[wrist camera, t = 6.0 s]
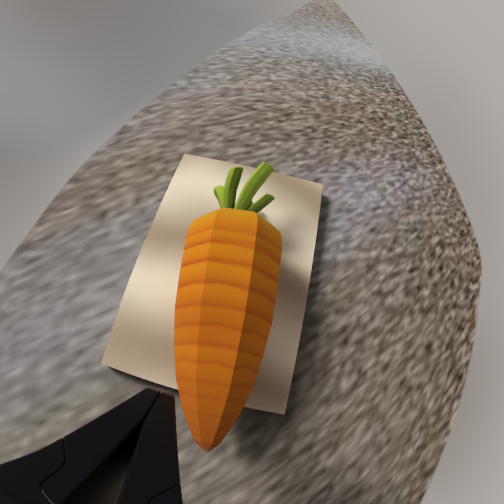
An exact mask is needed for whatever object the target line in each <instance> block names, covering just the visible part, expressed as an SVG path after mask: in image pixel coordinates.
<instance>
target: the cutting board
mask: <svg viewBox="0 0 504 504" xmlns="http://www.w3.org/2000/svg"><path fill="white" fill-rule="evenodd" d="M235 166H239V167H242V168H244V169H243V172H242V176H241V179H240V182H239V185H238V189H237V193H236V200H235V204H236V202H237V200H238V197H239V195H240V193H241V191H242V189H243V187H244V185H245V184H246V182H247V181H248V179H249V178H250V177H251V175H252V174H253V172H254V171H255V170H256V169H257V168H253V167H248V166H244V165H239V164H234V163H230V162H225V161H220V160H215V159H209V158H204V157H199V156H193V155H188V154H184V156H183V158H182V160H181V162H180V164H179V166H178V168H177V170H176V172H175V174H174V176H173V179H172V181H171V183H170V185H169V187H168V189H167V191H166V194H165V196H164V198H163V200H162V202H161V205H160V207H159V209H158V211H157V214H156V216H155V218H154V220H153V223H152V225H151V227H150V230H149V232H148V234H147V237H146V239H145V242H144V244H143V246H142V249H141V251H140V254H139V256H138V259H137V261H136V264H135V267H134V269H133V272H132V274H131V277H130V280H129V282H128V285H127V288H126V290H125V293H124V296H123V298H122V301H121V304H120V307H119V310H118V313H117V315H116V318H115V321H114V324H113V327H112V330H111V333H110V336H109V339H108V342H107V346H106V349H105V352H104V355H103V358H102V362H101V363H102V364H104V365H107V366H109V367H112V368H115V369H117V370H120V371H123V372H125V373H128V374H131V375H134V376H137V377H140V378H142V379H145V380H148V381H151V382H154V383H158V384H161V385H164V386H167V387H170V388H174V389H177V390H178V386H177V381H176V373H175V352H174V315H175V303H176V295H177V288H178V281H179V274H180V268H181V262H182V257H183V252H184V247H185V241H186V236H187V232H188V229H189V227H190V225H191V223H192V222H193V220H195V219H197V218H199V217H201V216H203V215H206V214H208V213H210V212H213V211H215V210H217V209H220V205H219V202H218V200H217V198H216V197H215V195H214V187H216V186H220V185H222V186H223V187H224V185H225V181H226V177H227V174H228V171H229V169H230V168H232V167H235ZM322 187H323V184H319V183H315V182H311V181H308V180H304V179H300V178H296V177H292V176H287V175H283V174H279V173H275V172H272V173H271V174H270V176H269V177H268V178H267V180H266V181H265V182H264V183H263V185H262V186H261V187H260V188H259V190H258V191H257V192H256V194H255V196H254V197H253V199H252V201H253V203H255V202H256V201H257V200H259V199H260V198H261V197H262V196H264V195H265V194H270V195H273V197H274V198H275V199H274V200H273V201H272V202H271V203H269V204H268V205H267V206H266V207H265V208H263V209H262V210H261V211H260V212H258V213H257V214H258V215H260V216H261V217H262V218H264V219H265V220H266V221H268V222H269V223H270V224H272V225H273V226H274V227H275V228H276V229H277V230H278V231H280V233H281V237H282V252H281V262H280V271H279V280H278V287H277V294H276V301H275V307H274V314H273V321H272V325H271V329H270V333H269V337H268V340H267V344H266V348H265V351H264V355H263V358H262V361H261V364H260V368H259V371H258V374H257V377H256V380H255V383H254V386H253V389H252V391H251V393H250V395H249V397H248V399H247V401H246V403H245V405H244V407H248V408H252V409H257V410H262V411H267V412H273V413H278V414H285V410H286V405H287V400H288V396H289V391H290V386H291V382H292V377H293V372H294V367H295V362H296V356H297V351H298V346H299V341H300V335H301V330H302V324H303V318H304V313H305V307H306V301H307V295H308V289H309V282H310V276H311V270H312V263H313V256H314V249H315V242H316V235H317V228H318V220H319V212H320V204H321V196H322Z"/></svg>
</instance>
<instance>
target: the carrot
mask: <svg viewBox="0 0 504 504" xmlns="http://www.w3.org/2000/svg"><path fill="white" fill-rule="evenodd" d="M243 169H244V168H242V167H239V166H235V167H232V168H230V169H229V171H228V174H227V177H226V181H225V185H224V187H223V186H222V185H220V186H216V187H214V195H215V197H216V198H217V200H218V202H219V205H220V209H217V210H215V211H213V212H210V213H208V214H206V215H203V216H201V217H199V218H197V219H195V220H193V222H192V223H191V225H190V227H189V229H188V232H187V236H186V241H185V247H184V252H183V257H182V262H181V268H180V274H179V281H178V288H177V295H176V303H175V315H174V352H175V373H176V381H177V386H178V391H179V396H180V400H181V405H182V409H183V412H184V415H185V418H186V420H187V423H188V426H189V428H190V431H191V434H192V436H193V439H194V441H195V442H196V443H197V444H198V446H199V447H200V448H201V449H202V450H203V451H206V452H209V451H210V450H212V449H213V448H215V447H216V446H218V445H219V444H220V443H221V441H222V440H223V439H224V437H225V436H226V434H227V433H228V431H229V430H230V429H231V427H232V426H233V424H234V423H235V421H236V420H237V418H238V417H239V415H240V413H241V411H242V409H243V407H244V405H245V403H246V401H247V399H248V397H249V395H250V393H251V391H252V389H253V386H254V383H255V380H256V377H257V374H258V371H259V368H260V364H261V361H262V358H263V355H264V351H265V348H266V344H267V340H268V337H269V333H270V329H271V325H272V321H273V314H274V307H275V301H276V294H277V287H278V280H279V271H280V262H281V252H282V237H281V233H280V231H278V230H277V229H276V228H275V227H274V226H273V225H272V224H270V223H269V222H268V221H266V220H265V219H264V218H262V217H261V216H260V215H258V214H257V213H258V212H260V211H261V210H262V209H263V208H265V207H266V206H267V205H268V204H269V203H271V202H272V201H273V200H274V199H275V198H274V197H273V195H270V194H265V195H264V196H262V197H261V198H260V199H259V200H257V201H256V202H255V203H253V201H252V199H253V197H254V196H255V194H256V192H257V191H258V190H259V188H260V187H261V186H262V185H263V183H264V182H265V181H266V180H267V178H268V177H269V176H270V174H271V173H272V172H273V171H274V169H273V168H272V166H271V165H269V164H267V163H265V162H263V163H262V164H261V165H260V166H259V167H258V168H257V169H256V170H255V171H254V172H253V174H252V175H251V177H250V178H249V179H248V181H247V182H246V184H245V185H244V187H243V189H242V191H241V193H240V195H239V197H238V200H237V202H236V204H235V200H236V193H237V189H238V185H239V182H240V179H241V176H242V172H243Z"/></svg>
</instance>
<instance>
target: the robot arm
mask: <svg viewBox="0 0 504 504" xmlns="http://www.w3.org/2000/svg"><path fill="white" fill-rule="evenodd" d="M0 504H183V501H182V494H181V486H180V474H179V462H178V449H177V433H176V414H175V396H174V395H172V394H168V393H165V392H160V391H159V390H156V389H153V388H150V387H148V388H145V389H144V390H142V391H141V392H139V393H137V394H136V395H134V396H132V397H131V398H129V399H128V400H126V401H124V402H123V403H121V404H119V405H118V406H116V407H114V408H113V409H111V410H109V411H108V412H106V413H104V414H103V415H101V416H99V417H98V418H96V419H94V420H93V421H91V422H89V423H87V424H86V425H84V426H82V427H81V428H79V429H77V430H75V431H74V432H72V433H70V434H68V435H66V436H65V437H63V439H62V438H61V439H59V440H57V441H56V442H54V443H52V444H50V445H48V446H46V447H44V448H42V449H40V450H38V451H35V452H33V453H30V454H28V455H26V456H23V457H20V458H17V459H15V460H12V461H9V462H6V463H3V464H0Z"/></svg>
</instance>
